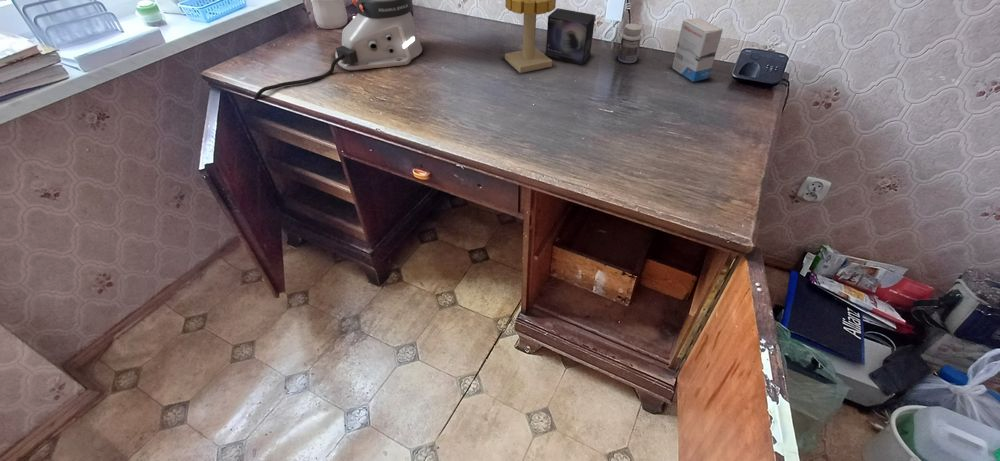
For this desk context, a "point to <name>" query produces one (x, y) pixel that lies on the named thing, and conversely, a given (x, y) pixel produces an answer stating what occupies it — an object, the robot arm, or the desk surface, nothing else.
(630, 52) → the pill bottle
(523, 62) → the tan peg stand
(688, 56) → the ink box
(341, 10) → the cup
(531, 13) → the ring
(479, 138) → the desk surface
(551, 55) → the small box
